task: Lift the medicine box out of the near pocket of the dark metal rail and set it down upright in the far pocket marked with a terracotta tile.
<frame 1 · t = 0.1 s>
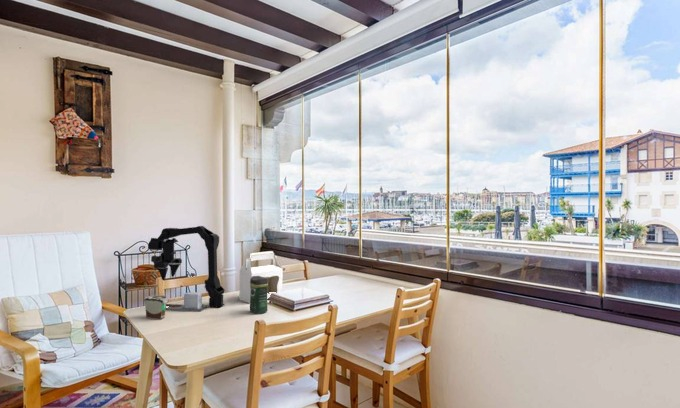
hand: (168, 278, 203), 15 cm above the table, fingers open, 9 cm apart
food container: (158, 317, 180), on the table
gable box: (261, 298, 218), on the table
coffee jar: (258, 312, 191), on the table
medicine box: (192, 309, 194), resting in rail
rail: (182, 308, 195), on the table
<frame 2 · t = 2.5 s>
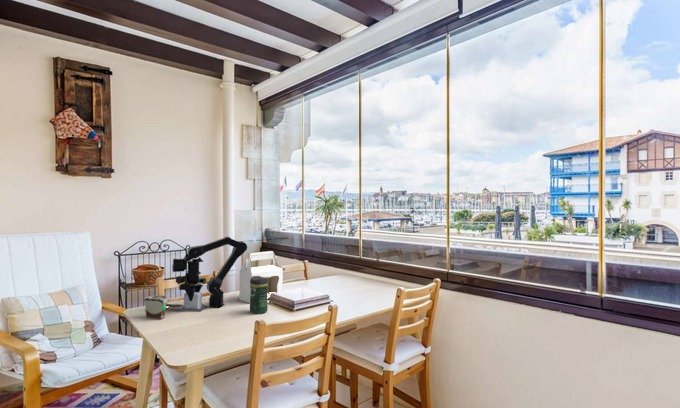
hand: (192, 299, 194), 5 cm above the table, fingers closed on medicine box, 4 cm apart
medicine box: (192, 309, 194), resting in rail, touching gripper
everything else where it was.
when the fingers open (6 cm above the table, at t = 5.8 s): medicine box stays where it is, resting on rail.
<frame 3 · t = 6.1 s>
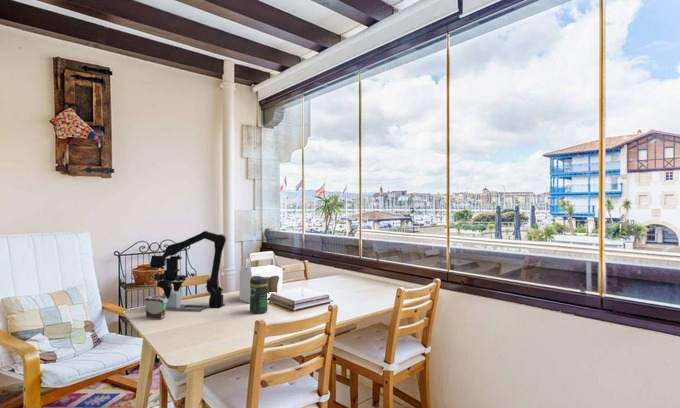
hand: (171, 296, 195), 6 cm above the table, fingers open, 7 cm apart
medicine box: (171, 308, 195), resting on rail
everything else where it was.
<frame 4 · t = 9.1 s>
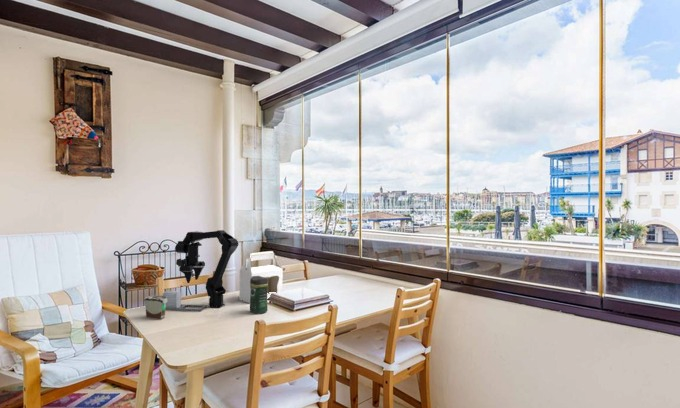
hand: (192, 281, 206), 13 cm above the table, fingers open, 9 cm apart
nothing on the table moved.
at the end: medicine box 0.2 cm from the target spot on the rail, point 0.0 cm above the rail's base; medicine box tilted 0°; the gripper is holding nothing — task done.
